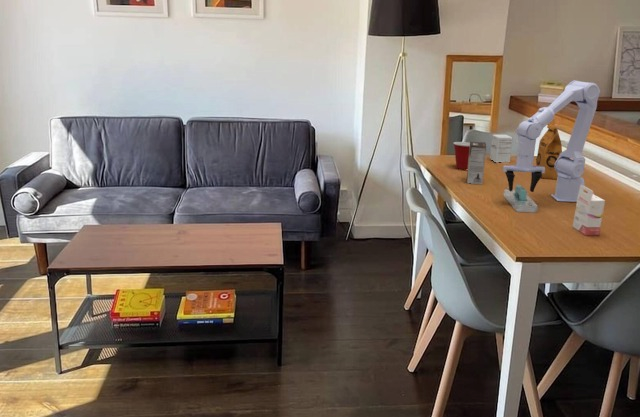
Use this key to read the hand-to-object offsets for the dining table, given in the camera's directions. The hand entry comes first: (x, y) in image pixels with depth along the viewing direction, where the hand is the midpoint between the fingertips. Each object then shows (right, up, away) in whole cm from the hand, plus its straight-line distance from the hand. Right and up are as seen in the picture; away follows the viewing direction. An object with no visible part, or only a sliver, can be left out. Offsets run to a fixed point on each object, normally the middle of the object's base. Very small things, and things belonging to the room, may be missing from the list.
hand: (521, 191), depth 216 cm
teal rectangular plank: (0, -5, +2) cm, 5 cm away
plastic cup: (-9, +12, +52) cm, 54 cm away
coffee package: (+26, +8, +41) cm, 49 cm away
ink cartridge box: (+12, -14, -26) cm, 32 cm away
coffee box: (-9, +5, +31) cm, 32 cm away
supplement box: (+12, +16, +66) cm, 69 cm away
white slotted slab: (0, -5, +2) cm, 5 cm away
